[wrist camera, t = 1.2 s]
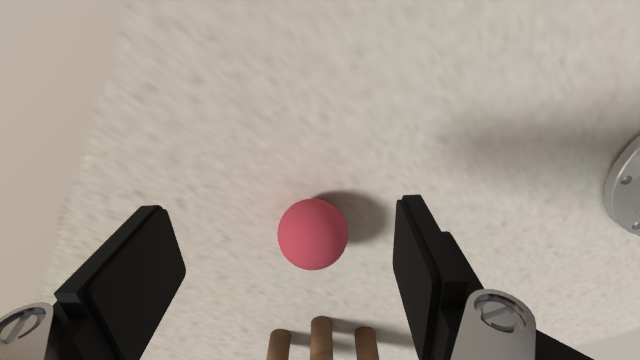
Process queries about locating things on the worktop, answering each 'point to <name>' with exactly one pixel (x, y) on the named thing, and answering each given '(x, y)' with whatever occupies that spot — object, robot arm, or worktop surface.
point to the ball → (312, 234)
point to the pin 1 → (279, 345)
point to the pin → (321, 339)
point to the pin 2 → (366, 344)
